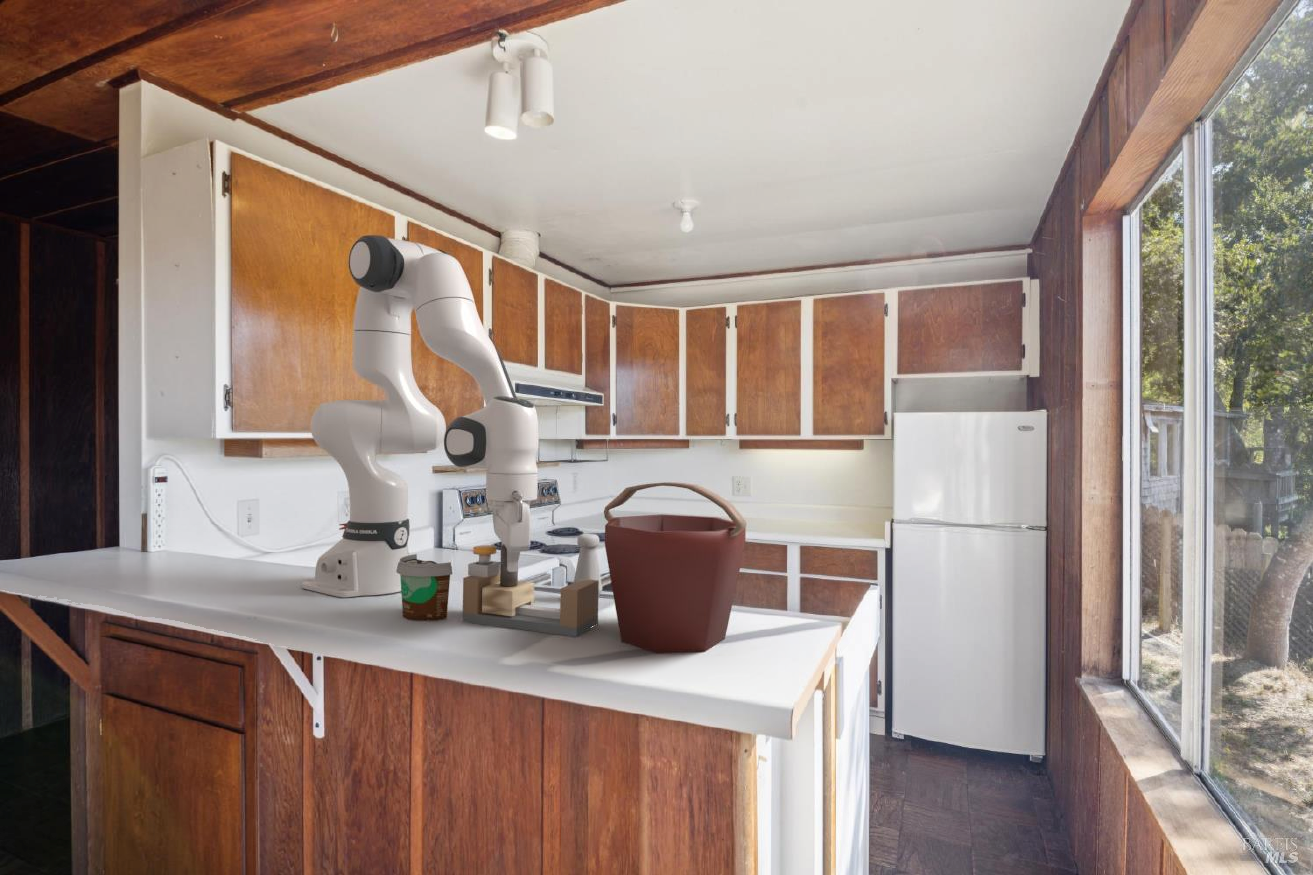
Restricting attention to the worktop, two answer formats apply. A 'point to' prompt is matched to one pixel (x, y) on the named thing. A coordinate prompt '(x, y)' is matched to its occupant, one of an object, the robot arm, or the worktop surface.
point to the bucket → (674, 574)
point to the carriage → (506, 591)
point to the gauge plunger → (484, 553)
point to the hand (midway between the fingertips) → (510, 568)
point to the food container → (424, 588)
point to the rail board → (568, 620)
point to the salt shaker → (588, 559)
